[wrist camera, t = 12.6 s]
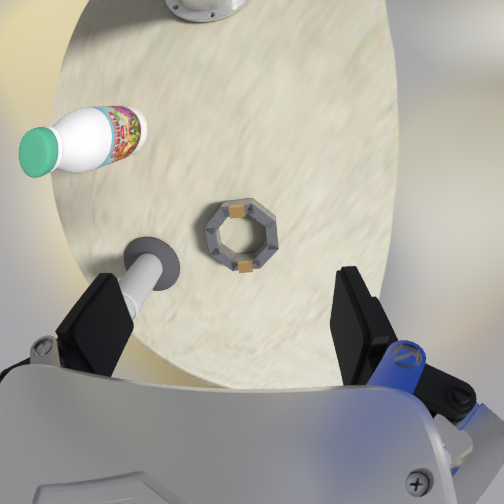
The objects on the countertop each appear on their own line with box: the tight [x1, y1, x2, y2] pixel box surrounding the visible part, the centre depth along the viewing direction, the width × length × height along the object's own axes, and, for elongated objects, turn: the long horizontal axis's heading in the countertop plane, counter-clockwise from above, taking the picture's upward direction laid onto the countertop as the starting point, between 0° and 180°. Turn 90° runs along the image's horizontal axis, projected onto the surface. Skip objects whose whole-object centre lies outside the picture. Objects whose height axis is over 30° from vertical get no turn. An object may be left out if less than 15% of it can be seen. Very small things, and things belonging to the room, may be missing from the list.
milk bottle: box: [19, 106, 147, 178], centre depth 26 cm, size 8×8×20 cm
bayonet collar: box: [205, 198, 279, 273], centre depth 40 cm, size 10×10×3 cm
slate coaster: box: [124, 237, 180, 291], centre depth 45 cm, size 10×10×1 cm
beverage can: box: [118, 253, 163, 320], centre depth 39 cm, size 5×5×12 cm
